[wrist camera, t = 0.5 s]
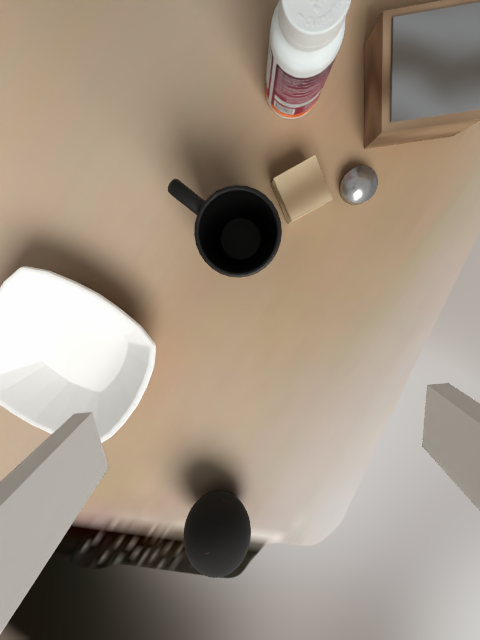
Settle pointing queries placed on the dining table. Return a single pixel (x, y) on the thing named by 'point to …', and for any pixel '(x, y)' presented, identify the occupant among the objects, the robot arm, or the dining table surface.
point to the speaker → (217, 534)
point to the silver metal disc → (358, 185)
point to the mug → (233, 228)
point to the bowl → (69, 353)
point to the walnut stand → (422, 73)
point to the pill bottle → (302, 52)
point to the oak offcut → (301, 189)
